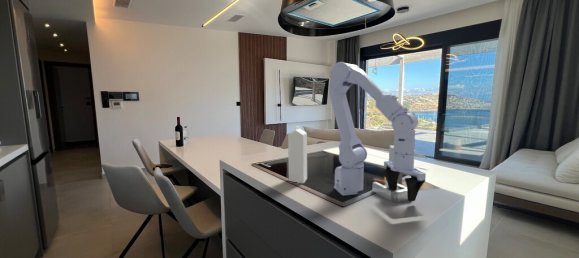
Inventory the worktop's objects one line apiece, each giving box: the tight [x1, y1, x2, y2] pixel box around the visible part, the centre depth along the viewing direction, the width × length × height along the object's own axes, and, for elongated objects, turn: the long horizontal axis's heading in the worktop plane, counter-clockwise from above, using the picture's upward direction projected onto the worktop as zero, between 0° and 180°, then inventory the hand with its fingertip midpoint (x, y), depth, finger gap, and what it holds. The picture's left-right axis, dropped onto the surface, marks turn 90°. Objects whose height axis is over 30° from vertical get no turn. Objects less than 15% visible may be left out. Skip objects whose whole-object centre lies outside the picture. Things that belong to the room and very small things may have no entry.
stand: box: [397, 172, 440, 191], centre depth 88 cm, size 14×9×7 cm, turn 102°
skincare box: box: [388, 144, 394, 162], centre depth 103 cm, size 6×4×12 cm
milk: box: [287, 124, 308, 184], centre depth 97 cm, size 6×6×22 cm
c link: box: [371, 179, 408, 203], centre depth 80 cm, size 10×7×4 cm
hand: (401, 195), depth 76 cm, fingers open, 7 cm apart
